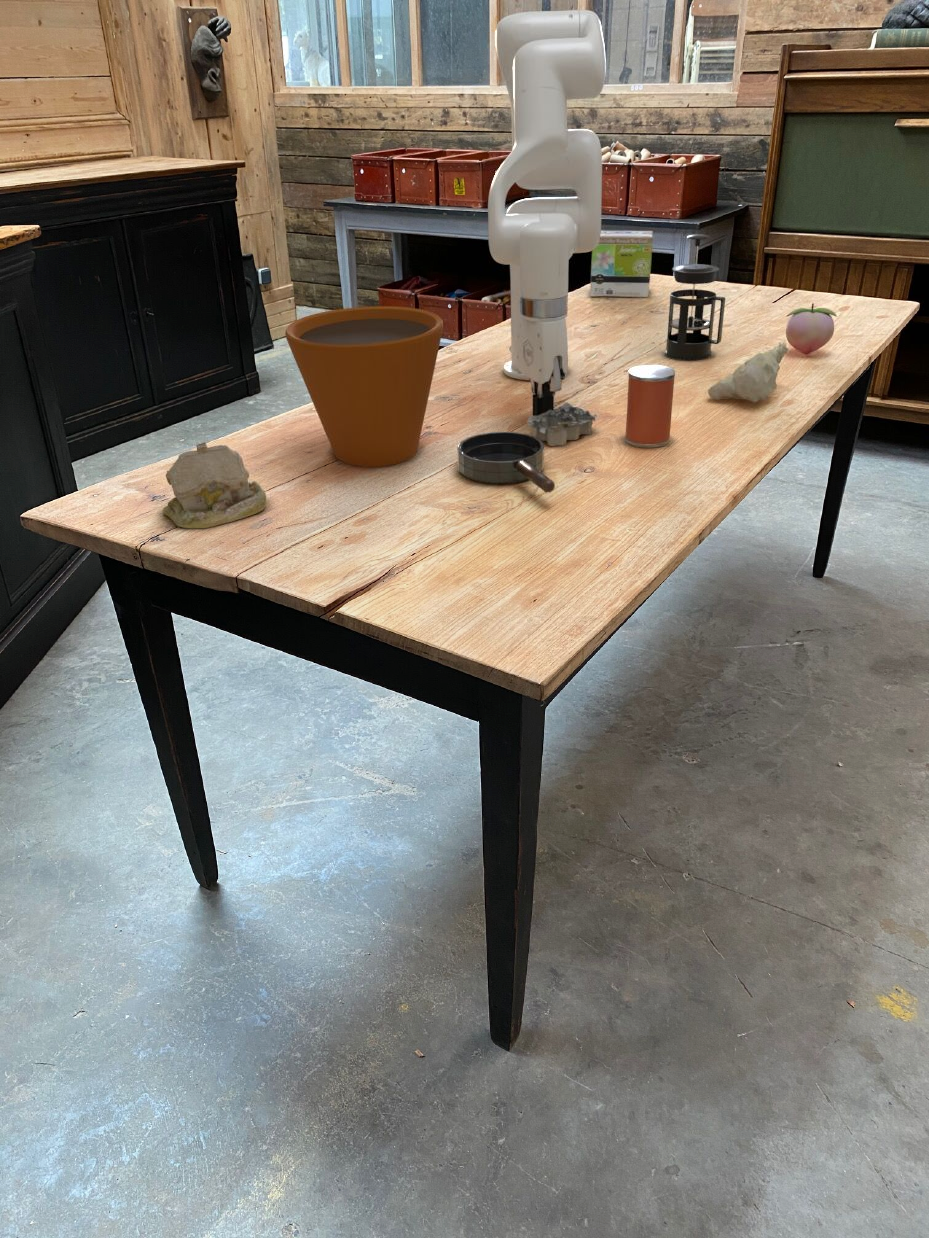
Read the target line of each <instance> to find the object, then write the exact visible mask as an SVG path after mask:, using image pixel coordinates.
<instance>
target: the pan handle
mask: <svg viewBox="0 0 929 1238" xmlns="http://www.w3.org/2000/svg"><path fill="white" fill-rule="evenodd" d="M516 467H517V470H518V471H519V472H520V473H521V474H523V475H524V476H525V477H526V478H528V480H529V481H530V482H532V483H533V484H534V485H535V486H536V487H538V488H540V490H542V491H543V492H544V493H552V492H553V491H554V490H555V488H556V485H555V482H554V481H553V480H552V479H551V478H549V477H548V476H547V475H545V474H544V473H543V472H542V471H541V472H540V471H539V470H537V469H536V468H534V467H533V466H532V465H530V464H529V463H528V462H526V461H524V460H521V461H519V462H518V463H517V466H516Z"/></svg>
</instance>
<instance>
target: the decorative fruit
mask: <svg viewBox="0 0 929 1238" xmlns="http://www.w3.org/2000/svg"><path fill="white" fill-rule="evenodd" d="M814 306H815V303H811V308H805V307H800V308H795V309H793V310H792V311H790V312H789V313H788V314H787V315H786V316H785V317H789V319H788V321H787V324H786V327H785V338H786V340H787V342H788V343H789V345H790V346H791V347H792V348H793V349H795V350H796V351H798V352H799V353H802V354H803V355H808V354H809V355H810V354H812V353H813V352H815V351H817V350H820V349H821V348H823V347H824V346H826V345H827V344H828V343H829V342H830V340H831V339H832V338H833V336H834V332H835V324H834V319H833V317H832V316H834V317H838V316H837V314H836V313H835V312H834V311H833V310H832V309H830V308H826V307H817V308H814Z"/></svg>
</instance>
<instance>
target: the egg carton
mask: <svg viewBox="0 0 929 1238" xmlns="http://www.w3.org/2000/svg"><path fill="white" fill-rule="evenodd" d="M597 417H598V414H596V413H595V414H593V415H592V414H591V413H590V411H589V410H584V409H583V408H580V407H578V406H573V405H572V404H570V403H569V402H565V403H563V404H562V405H561V406H559V407H557V408H554V410H553V411H552V410H551V409H550V410H548V411H547V412H545V413H542V414H540V415H538V416H533V415H530V416H529V417H528V419H527V421H526V425H527V426H530V427H531V431H530V435H531V436H534V437H537V438H538V439H540V440H541V441H542V442H546V443H547V446H551V447H554V446H565V445H567V441H576V440H578V439H580V435H587V436H588V435H592V433H593V428H592V427H593V423H594V422H596V418H597Z"/></svg>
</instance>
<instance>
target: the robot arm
mask: <svg viewBox="0 0 929 1238" xmlns="http://www.w3.org/2000/svg"><path fill="white" fill-rule="evenodd" d="M494 41H495V53H496V58H497V62H498V66H499V70H500V72H501V76H502V78H503V81H504V85H505V87H506V89H507V93H508V97H509V102H510V109H511V152H510V153H509V154H508V155H507V157H506V158H505V159H504V160H503V162H502V163H501V164H500V166H499V168H498V169H497V170H496V173H495V175H494V176H493V179H492V182H491V185H490V188H489V192H488V201H487V219H488V220H487V227H488V229H487V231H488V233H487V234H488V236H487V237H488V248H489V252H490V255H491V257H492V259H493V260H494V261H495V262H496V263H498V264H501V265H509V275H510V276H509V277H510V280H509V281H510V346H509V347H508V348H509V349H508V350H509V352H510V356H511V357H510V361H508V362H506V363H504V365H503V374H504V375H506V376H507V377H510V378H512V379H516V380H521V381H530V391H531V393H532V415H531V416H538V415H540V414H542V413H545V412H547V411H548V410H550V409H551V410H552V411H553V410H554V409H555V395H556V392H560V391H562V390H563V389H562V381H565V380H566V379H567V376H568V368H569V347H568V346H569V345H568V329H567V321H566V318H567V317H568V314H569V313H568V310H569V309H568V308H569V307H568V305H569V304H568V303H569V260H570V259H571V258H572V257H573V254H582V253H589V252H592V250H594V249H595V248H596V247H597V245H598V243H599V240H600V234H601V231H602V201H603V199H602V196H603V195H602V194H603V193H602V192H603V154H602V144H601V141H600V139H599V137H598V135H597V133H595V132H594V131H592V130H590V129H585V128H575V129H568V101H569V100H587V99H588V100H589V99H590V100H591V99H595V98H598V97H599V96H600V94H601V93H602V91H603V90H604V89H603V88H604V85H605V81H606V72H607V70H606V69H607V59H606V49H605V42H604V35H603V30H602V24H601V20H600V18H599V15H597V13H596V12H595V11H592V10H589V9H574V10H573V9H568V10H537V11H536V10H535V11H523V12H517V13H513V14H509V15H507V16H504V17H502V18H501V19H500V20H499V21H498V23H497V24H496V27H495V34H494ZM515 184H516V185H517V186H518V187H519V188H520V189H525V190H533V191H534V190H535V191H536V190H537V191H542V190H543V191H544V190H568V189H569V190H570V189H571V190H573V191H574V192H575V194H576V196H567V197H564V196H563V197H531V198H524V199H520V200H517V201H515V202H513V203H512V204H511V205H510V206H509V207H508V209H507V210H506V199H507V195H508V193H509V190H510V189H511V187H512V186H513V185H515Z"/></svg>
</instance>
